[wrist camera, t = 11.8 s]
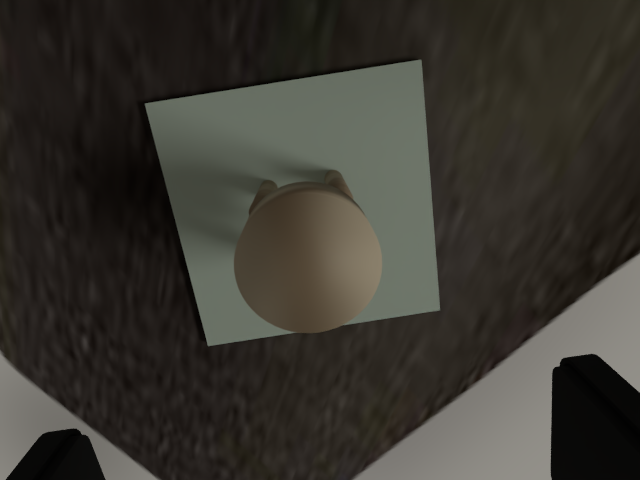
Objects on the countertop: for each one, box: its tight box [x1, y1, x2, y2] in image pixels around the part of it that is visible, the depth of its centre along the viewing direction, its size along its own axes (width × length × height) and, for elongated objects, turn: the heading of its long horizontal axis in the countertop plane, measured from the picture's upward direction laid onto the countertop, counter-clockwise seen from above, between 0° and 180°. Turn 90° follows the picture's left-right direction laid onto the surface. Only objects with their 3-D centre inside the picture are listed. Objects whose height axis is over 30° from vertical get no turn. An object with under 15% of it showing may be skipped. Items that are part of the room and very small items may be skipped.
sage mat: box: [145, 60, 440, 346], centre depth 28 cm, size 16×16×1 cm
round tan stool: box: [234, 170, 382, 333], centre depth 23 cm, size 6×6×9 cm
